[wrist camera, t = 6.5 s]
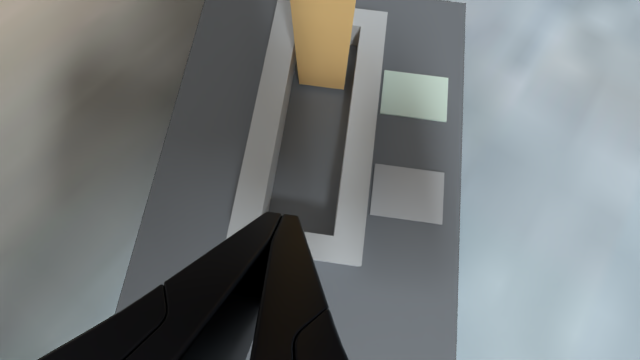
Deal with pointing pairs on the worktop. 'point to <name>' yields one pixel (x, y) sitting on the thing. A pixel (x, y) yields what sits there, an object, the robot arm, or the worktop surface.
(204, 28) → the switch board
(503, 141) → the worktop surface
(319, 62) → the tab
